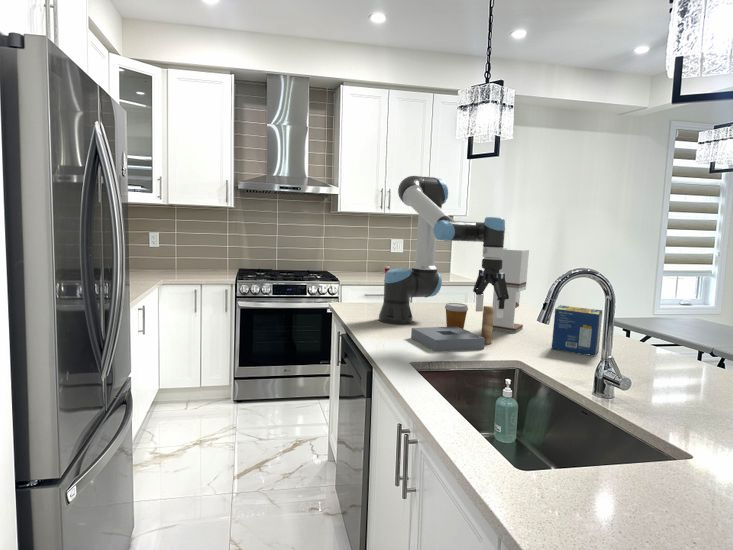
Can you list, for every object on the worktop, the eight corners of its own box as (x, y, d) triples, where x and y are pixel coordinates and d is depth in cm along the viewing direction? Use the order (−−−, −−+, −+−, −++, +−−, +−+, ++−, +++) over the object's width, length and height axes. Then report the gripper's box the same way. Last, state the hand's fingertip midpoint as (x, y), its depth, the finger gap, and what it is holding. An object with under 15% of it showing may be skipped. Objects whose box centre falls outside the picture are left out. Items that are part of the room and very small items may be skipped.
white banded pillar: (515, 333, 217) (522, 250, 214) (490, 329, 223) (496, 248, 219) (522, 329, 227) (529, 249, 223) (498, 325, 233) (504, 248, 229)
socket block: (411, 337, 200) (411, 327, 199) (456, 336, 206) (457, 326, 206) (434, 351, 181) (435, 340, 180) (484, 348, 188) (484, 338, 187)
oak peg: (478, 342, 198) (481, 306, 197) (487, 341, 200) (490, 305, 198) (484, 344, 195) (487, 307, 193) (493, 344, 196) (496, 307, 194)
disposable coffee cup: (465, 331, 216) (467, 303, 215) (467, 336, 207) (469, 307, 205) (442, 330, 217) (444, 302, 216) (443, 335, 207) (445, 305, 206)
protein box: (556, 344, 201) (559, 304, 200) (599, 350, 194) (603, 310, 192) (550, 349, 192) (554, 308, 191) (595, 356, 185) (599, 313, 183)
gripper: (466, 256, 204) (463, 309, 206) (503, 260, 181) (499, 320, 183) (482, 256, 207) (479, 308, 209) (521, 261, 183) (517, 320, 185)
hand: (488, 314), depth 196 cm, fingers open, 13 cm apart
